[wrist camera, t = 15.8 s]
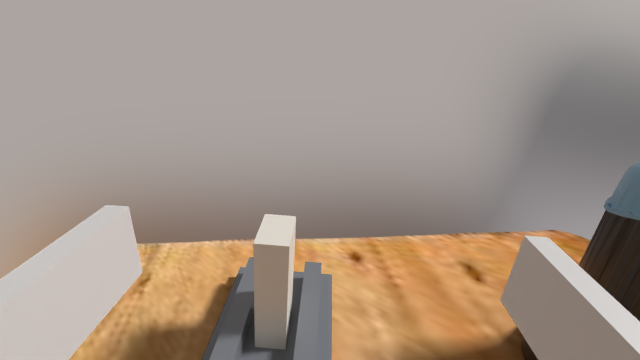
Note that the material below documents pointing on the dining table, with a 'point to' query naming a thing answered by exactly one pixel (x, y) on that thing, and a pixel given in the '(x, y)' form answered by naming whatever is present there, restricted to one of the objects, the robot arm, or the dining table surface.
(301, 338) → the rack
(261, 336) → the white rectangular block
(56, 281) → the robot arm
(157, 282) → the dining table surface
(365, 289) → the dining table surface
